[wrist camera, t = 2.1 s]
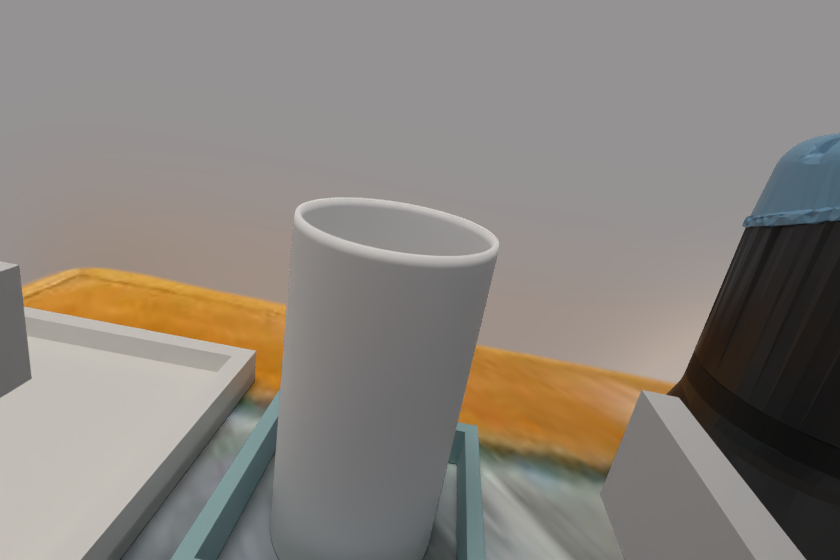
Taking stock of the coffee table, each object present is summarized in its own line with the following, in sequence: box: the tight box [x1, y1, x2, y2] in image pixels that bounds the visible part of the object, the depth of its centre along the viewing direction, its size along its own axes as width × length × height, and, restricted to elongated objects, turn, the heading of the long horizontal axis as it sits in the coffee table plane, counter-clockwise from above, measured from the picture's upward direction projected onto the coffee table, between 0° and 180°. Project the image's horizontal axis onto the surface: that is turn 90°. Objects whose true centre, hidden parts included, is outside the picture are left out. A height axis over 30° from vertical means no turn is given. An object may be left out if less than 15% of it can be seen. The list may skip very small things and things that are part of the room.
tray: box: [0, 307, 256, 560], centre depth 24 cm, size 20×18×2 cm
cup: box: [270, 198, 499, 560], centre depth 22 cm, size 8×8×16 cm
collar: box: [171, 390, 485, 560], centre depth 24 cm, size 13×13×2 cm
